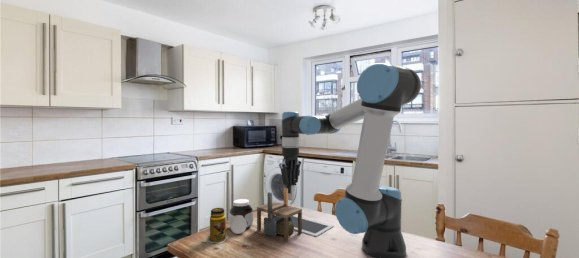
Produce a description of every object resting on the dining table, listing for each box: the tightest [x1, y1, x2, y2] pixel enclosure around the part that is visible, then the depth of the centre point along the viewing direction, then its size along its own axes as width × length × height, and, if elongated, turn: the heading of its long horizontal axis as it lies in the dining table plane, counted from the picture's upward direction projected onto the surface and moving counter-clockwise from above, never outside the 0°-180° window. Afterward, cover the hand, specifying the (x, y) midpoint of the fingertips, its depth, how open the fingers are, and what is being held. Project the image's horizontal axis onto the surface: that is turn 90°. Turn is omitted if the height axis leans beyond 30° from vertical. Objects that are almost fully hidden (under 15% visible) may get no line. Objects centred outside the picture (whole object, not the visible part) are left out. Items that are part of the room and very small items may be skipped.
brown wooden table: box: [256, 201, 303, 242], centre depth 115 cm, size 16×10×10 cm, turn 51°
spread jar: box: [228, 198, 254, 235], centre depth 118 cm, size 12×11×12 cm
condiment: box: [201, 207, 230, 244], centre depth 108 cm, size 7×8×12 cm
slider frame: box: [263, 187, 292, 237], centre depth 114 cm, size 6×11×17 cm, turn 141°
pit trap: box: [292, 214, 334, 238], centre depth 123 cm, size 26×14×1 cm, turn 51°
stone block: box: [276, 218, 295, 236], centre depth 116 cm, size 6×12×5 cm, turn 50°
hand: (290, 199), depth 121 cm, fingers closed
